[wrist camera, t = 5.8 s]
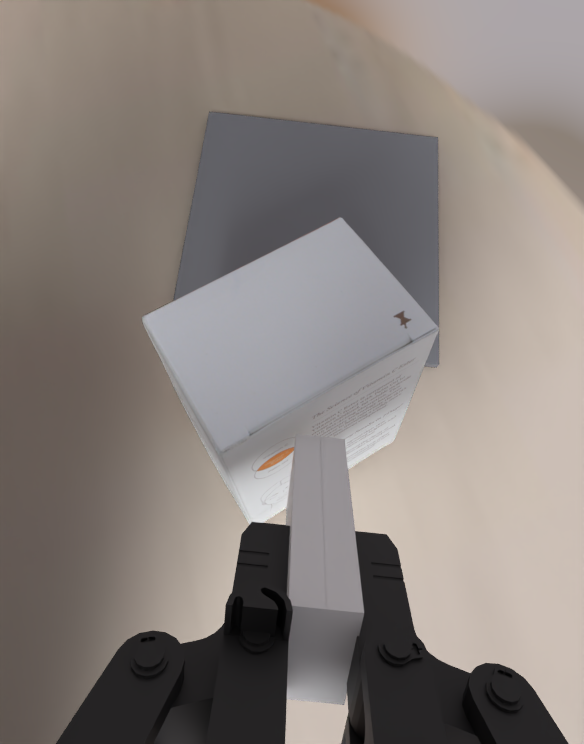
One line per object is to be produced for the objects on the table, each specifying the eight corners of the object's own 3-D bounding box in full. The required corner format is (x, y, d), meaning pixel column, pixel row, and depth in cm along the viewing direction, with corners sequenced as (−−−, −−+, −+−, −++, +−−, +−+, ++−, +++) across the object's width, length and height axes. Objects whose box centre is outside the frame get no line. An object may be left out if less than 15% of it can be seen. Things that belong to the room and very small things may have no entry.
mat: (167, 339, 28) (166, 335, 28) (209, 116, 34) (209, 111, 33) (436, 367, 29) (438, 364, 28) (435, 142, 34) (437, 137, 34)
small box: (332, 356, 28) (345, 209, 19) (396, 443, 26) (447, 324, 17) (194, 433, 27) (134, 311, 17) (250, 533, 24) (216, 455, 15)
